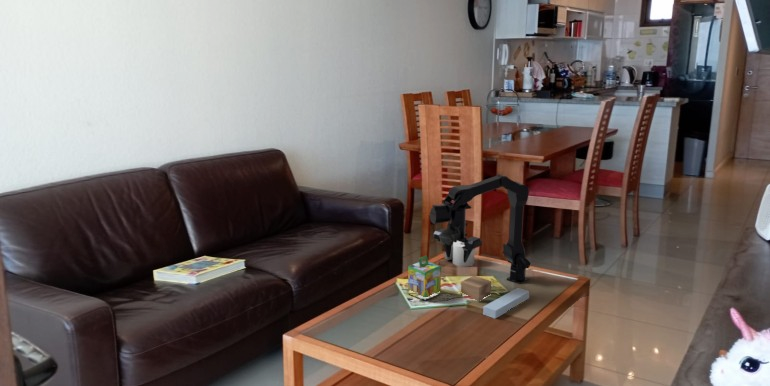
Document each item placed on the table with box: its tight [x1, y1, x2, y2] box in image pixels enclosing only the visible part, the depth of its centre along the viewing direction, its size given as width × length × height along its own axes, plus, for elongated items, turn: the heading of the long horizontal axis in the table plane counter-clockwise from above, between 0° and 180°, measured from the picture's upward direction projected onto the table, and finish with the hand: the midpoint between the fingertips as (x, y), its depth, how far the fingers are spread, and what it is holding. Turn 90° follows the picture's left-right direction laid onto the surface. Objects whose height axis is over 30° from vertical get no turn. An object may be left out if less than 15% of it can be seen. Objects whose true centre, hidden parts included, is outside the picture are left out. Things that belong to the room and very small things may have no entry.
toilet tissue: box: [443, 241, 476, 268], centre depth 267 cm, size 9×13×9 cm
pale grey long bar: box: [482, 287, 530, 319], centre depth 226 cm, size 22×5×3 cm, turn 136°
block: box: [460, 275, 492, 302], centre depth 235 cm, size 8×8×6 cm
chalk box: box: [407, 255, 442, 297], centre depth 235 cm, size 9×9×15 cm
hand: (456, 259), depth 239 cm, fingers open, 7 cm apart
